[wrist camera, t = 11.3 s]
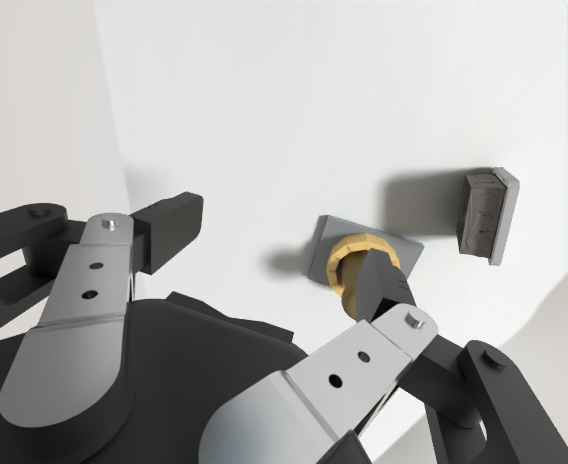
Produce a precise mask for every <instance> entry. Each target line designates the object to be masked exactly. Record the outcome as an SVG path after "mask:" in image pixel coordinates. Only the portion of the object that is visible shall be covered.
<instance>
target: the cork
mask: <svg viewBox="0 0 568 464" xmlns="http://www.w3.org/2000/svg"><path fill="white" fill-rule="evenodd" d="M368 251H369V250H359V251H353V252H350V253H348V254H347V255H345V256H344V257H343V258H341V259H340V260H339V265H340V270H341V274H342V278H343V282H344V287H345V288H344V291H343V293H342V306H343V308H344V311H345V312H346V313H347V315H348V316H349V317H351V318H352V319H354V320H356V305H355V282H356V279H357V276H358V273H359V271H360V269H361V267H362V264H363V262H364V260H365V258H366V255H367V253H368Z"/></svg>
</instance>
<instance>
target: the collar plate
mask: <svg viewBox="0 0 568 464" xmlns="http://www.w3.org/2000/svg"><path fill="white" fill-rule="evenodd" d="M370 248H375V249H378V250H381V251H385V252H388V253H389V256H390V259H391V262H392V265H394V266H397V267H398V268H399V269H400V270H401V271H402V272H403V273H404V275H405V277H406V280H407V279H408V277H409V275H410V273H411V271H412V269H413V267H414V266H415V264H416V262H417V260H418V258H419V256H420V255H421V253H422V251H423V249H424V245H423V244H422V243H419V242H416V241H412V240H409V239H406V238H402V237H399V236H396V235H393V234H389V233H386V232H383V231H379V230H376V229H373V228H370V227H366V226H363V225H360V224H357V223H353V222H350V221H347V220H343V219H340V218H337V217H334V216H330V215H328V218H327V221H326V224H325V227H324V230H323V233H322V236H321V239H320V242H319V244H318V247H317V250H316V253H315V256H314V259H313V262H312V265H311V268H310V271H309V274H308V279H311V280H314V281H317V282H320V283H323V284H326V285H329V286H330V287H331V288H332V289H333V290H334V291H335V292H336V293H337V294H338V295H339V296H340V297H341V298H342V293H343V291H344V288H345V287H344V282H343V278H342V274H341V270H340V265H339V260H340V259H341V258H343V257H344V256H345V255H347V254H348V253H350V252H353V251H359V250H369V249H370Z"/></svg>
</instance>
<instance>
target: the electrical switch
mask: <svg viewBox="0 0 568 464" xmlns="http://www.w3.org/2000/svg"><path fill="white" fill-rule="evenodd" d="M465 175H466V176H465V181H464V187H463V193H462V199H461V206H460V212H459V218H458V224H457V230H456V233H457V239H458V246H459V253H460V254H469V255H474V256H478V257H485V258H488V262H489V265H496V266H499V265H500V264H501V261H502V257H503V253H504V249H505V245H506V241H507V237H508V233H509V229H510V225H511V221H512V217H513V213H514V209H515V204H516V200H517V196H518V192H519V188H520V185H519V180H517V179H516V178H515V177H514V176H513V175H511V174H510V173H509V172H508V171H506V170H505V169H504V168H503V167H495V168H494V169H493V170H492V174H477V175H468V174H465ZM466 191H467V192H466ZM473 202H474V203H473ZM464 212H465V213H464ZM463 214H464V215H463ZM463 230H464V231H463Z"/></svg>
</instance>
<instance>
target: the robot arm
mask: <svg viewBox="0 0 568 464" xmlns="http://www.w3.org/2000/svg"><path fill="white" fill-rule="evenodd" d="M66 211H67V210H66V208H65V207H63V206H61V205H57V204H51V203H36V204H29V205H24V206H20V207H17V208H14V209H11V210H8V211H4V212H2V213H0V258H2V257H4V256H6V255H8V254H10V253H12V252H14V251H17V250H19V249H21V248H22V251H23V254H24V258H25V262H26V265H24V266H22V267H20V268H19V269H17V270H15V271H13V272H11V273H9V274H7V275H5V276H3V277H1V278H0V328H1V327H2V326H4V325H5V324H7V323H8V322H10V321H11V320H13V319H14V318H16V317H17V316H19V315H20V314H22V313H23V312H25V311H26V310H28V309H29V308H31V307H32V306H34V305H35V304H37V303H38V302H40V301H41V300H43V299H44V298H46V297H47V296H49V297H48V300H47V302H46V305H45V307H44V310H43V312H42V315H41V317H40V320H39V322H38V324H37V325H36V326H35V327H33V328H31V329H29V330H28V331H27V332H26V333H23V334H19V335H16V336H13V337H9V338H6V339H3V340H0V464H372V463H371V461H370V459H369V457H368V455H367V453H366V452H365V450H364V448H363V446H362V444H361V443H360V441H359V438H360V436H361V435H362V434H363V432H364V431H365V430H366V428H367V427H368V426H369V424H370V423H371V422H372V421H373V419H374V418H375V417H376V416H377V415H378V413H379V412H380V411H381V410H382V409H383V407H384V406H385V405H386V404H387V403H388V401H389V400H390V399H391V398H392V397H393V395H394V394H395V393H396V392H397V391H398V389H399V388H402V389H403V390H405V391H406V392H408V393H409V394H411V395H413V396H414V397H416V398H417V399H419V400H420V401H422V402H423V403H424V405H425V410H426V414H427V419H428V424H429V428H430V433H431V437H432V442H433V446H434V451H435V455H436V460H437V464H568V447H567V445H566V443H565V442H564V440H563V439H562V437H561V435H560V434H559V432H558V431H557V429H556V427H555V426H554V424H553V423H552V421H551V420H550V418H549V416H548V415H547V413H546V412H545V410H544V409H543V407H542V405H541V404H540V402H539V400H538V399H537V397H536V396H535V394H534V393H533V391H532V390H531V388H530V386H529V385H528V383H527V381H526V380H525V378H524V377H523V375H522V373H521V372H520V370H519V369H518V367H517V366H516V365H515V364H514V363H513V361H512V360H510V359H509V358H508V357H507V356H506V355H505V354H504V353H502V352H501V351H499V350H498V349H496V348H495V347H493V346H491V345H489V344H487V343H485V342H482V341H478V340H471V341H469V342H468V343H467V344H466V346H465V347H464V348H462V347H460V346H458V345H456V344H454V343H452V342H451V341H449V340H447V339H445V338H443V337H442V336H440V335H438V334H437V333H438V327H437V325H436V323H435V321H434V320H433V319H432V318H431V317H430V316H429V315H428V314H427V313H425V312H424V311H422V310H421V309H419V308H417V306H416V304H415V301H414V298H413V296H412V293H411V290H410V288H409V285H408V284H407V280H406V277H405V275H404V273H403V272H402V271H401V270H400V269H399V268H398V267H397V266H394V265H392V262H391V259H390V256H389V253H388V252H385V251H381V250H378V249H375V248H370V249H369V251H368V253H367V255H366V258H365V260H364V262H363V264H362V267H361V269H360V271H359V273H358V276H357V279H356V282H355V305H356V322H357V324H355V325H354V326H352V327H351V328H349V329H348V330H346V331H345V332H343V333H342V334H340V335H339V336H337V337H336V338H334V339H333V340H331V341H330V342H329V343H327V344H326V345H324V346H323V347H321V348H320V349H318V350H317V351H315V352H314V353H312V354H311V355H307V354H306V353H305V352H304V351H303V350H302V349H301V348H299V347H298V346H297V345H295V344H293V343H292V339H293V335H294V332H292V331H289V330H286V329H283V328H280V327H277V326H274V325H271V324H268V323H265V322H260V321H253V320H245V319H237V318H230V317H227V316H225V315H224V314H222V313H221V312H219V311H217V310H216V309H214V308H212V307H211V306H209V305H207V304H206V303H204V302H203V301H200V300H197V299H194V298H192V297H189V296H186V295H183V294H180V293H177V292H174V291H173V292H172V293H171V294H170V295H169V296H168V297H167V298H166V299H143V300H136V301H135V286H136V273H137V272H138V271H140V272H143V273H146V274H149V275H152V274H153V273H155V272H156V271H157V270H158V269H159V268H161V267H162V266H163V265H164V264H165V263H167V262H168V261H169V260H170V259H171V258H173V257H174V256H175V255H176V254H177V253H179V252H180V251H181V250H182V249H183V248H185V247H186V246H187V245H188V244H189V243H191V242H192V241H193V240H194V239H195V238H196V237H197V236H198V234H199V232H200V229H201V222H202V211H203V197H202V196H200V195H197V194H193V193H190V192H184V193H181V194H179V195H177V196H175V197H173V198H169V199H163V200H160V201H158V202H156V203H154V205H153V204H152V205H150V206H147V208H146V207H145V208H143V209H141V210H139V211H137V212H135V213H133V214H130V215H125V214H121V213H104V214H98V215H95V216H93V217H91V218H89V219H88V221H87V222H82V221H74V220H68V216H67V212H66ZM481 420H482V421H483V423H484V426H485V428H486V434H487V442H486V440H485V437H484V434H483V432H482V429H481V427H480V424H479V422H481Z"/></svg>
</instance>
